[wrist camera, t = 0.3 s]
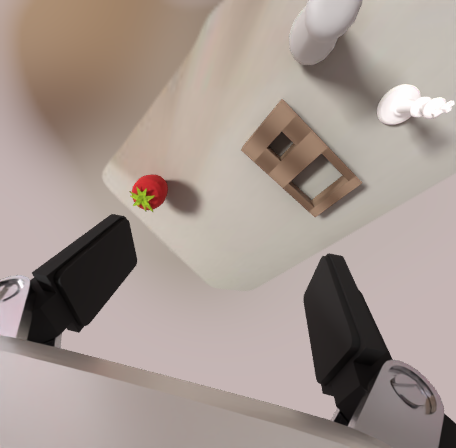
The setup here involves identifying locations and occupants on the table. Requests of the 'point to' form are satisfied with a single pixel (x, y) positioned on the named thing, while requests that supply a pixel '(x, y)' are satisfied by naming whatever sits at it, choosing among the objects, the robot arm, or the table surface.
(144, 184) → the strawberry
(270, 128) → the socket plate
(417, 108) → the chess piece
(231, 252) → the table surface
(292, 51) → the salt shaker
